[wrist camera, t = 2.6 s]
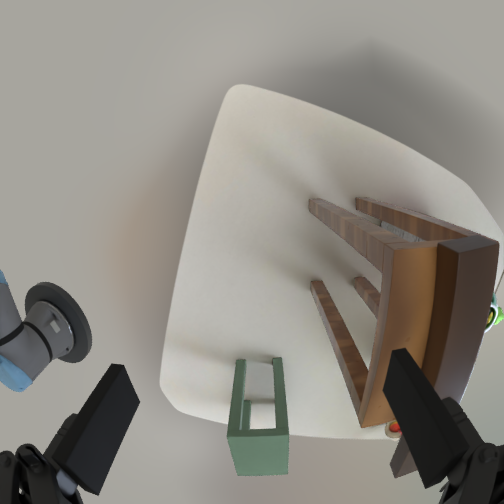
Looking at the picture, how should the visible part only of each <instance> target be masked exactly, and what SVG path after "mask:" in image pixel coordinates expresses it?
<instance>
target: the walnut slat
mask: <svg viewBox="0 0 504 504" xmlns="http://www.w3.org/2000/svg"><path fill="white" fill-rule="evenodd" d="M498 256H499V243H497V242H495V241H492V240H490V239H487V238H485V237H482V236H480V235H474V236H469V237H464V238H459V239H454V240H449V241H444V242H438V243H437V265H436V279H435V291H434V300H433V308H432V315H431V322H430V329H429V334H428V340H427V345H426V350H425V355H424V360H423V364H422V369H421V370H422V372H423V373H424V375H425V376H426V378H427V379H428V381H429V382H430V383H431V385H432V386H433V388H434V389H435V391H436V392H437V394H438V396H439V397H440V399H441V400H442V399H444V398H447V397H451V398H452V399H454V400H455V401H456V402H458V403H460V401H461V399H462V396H463V394H464V391H465V389H466V387H467V384H468V381H469V379H470V376H471V373H472V371H473V368H474V365H475V362H476V359H477V356H478V353H479V350H480V346H481V343H482V339H483V336H484V332H485V328H486V324H487V320H488V316H489V312H490V307H491V302H492V297H493V292H494V286H495V279H496V272H497V265H498ZM390 466H391V469H392V472H393V475H394V477H395V478H398V477H401V476H403V475H406V474H408V473H411V472H414V471H416V470H418V469H417V467H416V464H415V462H414V460H413V457H412V455H411V452H410V450H409V448H408V445H407V443H406V441H405V439H404V436H403V434H402V435H401V438H400V440H399V443H398V445H397V448H396V450H395V453H394V455H393V458H392V460H391V462H390Z"/></svg>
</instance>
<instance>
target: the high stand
mask: <svg viewBox="0 0 504 504" xmlns="http://www.w3.org/2000/svg"><path fill="white" fill-rule="evenodd" d="M356 210H359V211H361V212H363V213H366V214H368V215H370V216H373V217H375V218H377V219H380V220H382V221H384V222H386V223H389V224H391V225H393V226H395V227H397V228H400V229H402V230H404V231H406V232H408V233H410V234H412V235H415V236H417V237H419V238H421V239H423V240H425V241H420V242H409V241H407V240H405V239H403V238H401V237H399V236H397V235H395V234H393V233H391V232H390V231H388V230H386V229H384V228H382V227H380V226H378V225H376V224H374V223H372V222H370V221H368V220H365V219H363V218H361V217H359V216H357V215H355V214H353V213H351V212H349V211H347V210H344V209H342V208H340V207H338V206H336V205H334V204H331V203H329V202H327V201H325V200H322V199H309V211H310V212H311V213H312V214H313V215H315V216H316V217H317V218H318V219H320V220H321V221H322V222H323V223H324V224H326V225H327V226H328V227H329V228H331V229H332V230H333V231H334V232H335V233H337V234H338V235H339V236H340V237H341V238H343V239H344V240H345V241H346V242H347V243H348V244H350V245H351V246H352V247H353V248H354V249H355V250H357V251H358V252H359V253H360V254H361V255H362V256H364V257H365V258H366V259H367V260H368V261H369V262H370V263H371V264H373V265H374V266H375V267H376V268H377V269H378V270H379V271H380V272H382V273H383V275H382V286H381V294H380V293H379V292H378V291H377V289H376V288H375V287H374V286H373V285H372V284H371V283H370V282H369V281H368V280H367V278H366V277H357V278H355V283H354V288H355V290H356V291H357V292H358V294H359V295H360V296H361V298H362V299H363V300H364V302H365V303H366V304H367V306H368V307H369V308H370V310H371V311H372V312H373V314H374V315H375V317H376V318H377V319H378V320H377V326H376V333H375V339H374V345H373V351H372V356H371V362H370V367H369V371H368V369H367V367H366V365H365V363H364V361H363V359H362V357H361V355H360V353H359V351H358V349H357V347H356V345H355V343H354V341H353V339H352V337H351V335H350V333H349V331H348V329H347V327H346V325H345V323H344V321H343V319H342V317H341V315H340V313H339V311H338V309H337V307H336V306H335V304H334V302H333V300H332V298H331V296H330V294H329V292H328V290H327V289H326V287H325V285H324V283H323V281H311V293H312V295H313V298H314V300H315V303H316V305H317V308H318V310H319V313H320V315H321V318H322V321H323V323H324V326H325V328H326V331H327V334H328V336H329V339H330V342H331V344H332V347H333V350H334V352H335V355H336V358H337V360H338V363H339V366H340V369H341V371H342V374H343V377H344V380H345V382H346V385H347V388H348V391H349V394H350V397H351V400H352V402H353V405H354V408H355V411H356V414H357V417H358V420H359V423H360V426H361V428H365V427H370V426H374V425H379V424H383V423H387V422H391V421H394V420H396V418H395V416H394V414H393V412H392V410H391V408H390V406H389V403H388V401H387V399H386V397H385V395H384V393H383V391H382V390H383V386H384V382H385V378H386V374H387V370H388V366H389V362H390V357H391V352H392V350H396V349H401V348H406V349H407V350H408V352H409V353H410V355H411V356H412V357H413V359H414V360H415V362H416V363H417V365H418V366H419V367H420V369H422V364H423V360H424V355H425V350H426V345H427V340H428V334H429V329H430V322H431V315H432V308H433V300H434V291H435V279H436V265H437V243H438V242H444V241H449V240H454V239H459V238H464V237H469V236H474V235H480V236H482V237H485V238H487V239H490V240H492V241H495V242H497V243H499V242H498V241H496V240H493V239H491V238H488V237H486V236H483V235H481V234H478V233H476V232H473V231H470V230H468V229H465V228H462V227H460V226H457V225H454V224H451V223H448V222H445V221H442V220H440V219H437V218H434V217H431V216H428V215H424V214H421V213H418V212H415V211H412V210H409V209H405V208H402V207H399V206H395V205H392V204H388V203H385V202H381V201H378V200H374V199H370V198H367V197H364V198H356Z"/></svg>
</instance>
